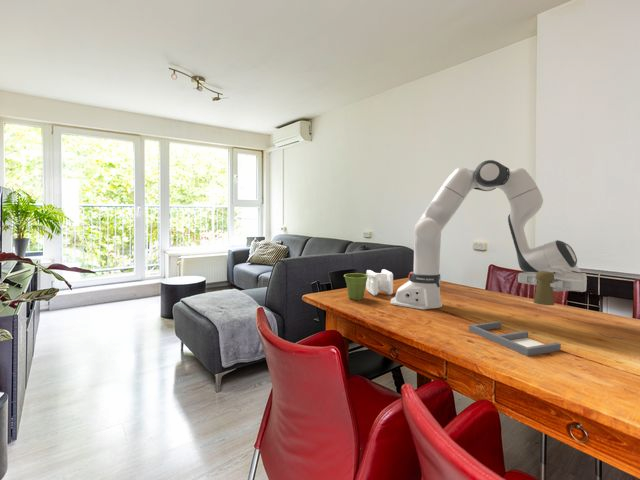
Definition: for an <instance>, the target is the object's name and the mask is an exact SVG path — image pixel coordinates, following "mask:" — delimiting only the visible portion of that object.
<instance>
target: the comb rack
mask: <svg viewBox="0 0 640 480" xmlns="http://www.w3.org/2000/svg"><path fill="white" fill-rule="evenodd" d="M501 328H502V322H501V321H497V320H496V321H491V322H483V323H477V324H469V325H468V332H471V333H473V334H476V335H478V336H479V337H480V336H481V337H482V338H485V339H487V340H490V341H491V342H494V343H496V344H499V345H501V346H503V347H505V348H508V349H510V350H512V351H515V352H517V353H520V354H521V355H524V356H526V357H531V356H535V355H536V356H537V355H541V354H542V355H543V354H548V353H552V352H553V353H555V352H559V351H561V350H562V349H561V347H562V344H561V342H557V341H556V342H551V343H550V342H549V343H542V342H540V341H537V340H534V339H531V338H529V332H528V331H527V330H522V331H521V330H520V331H515V332H508V333H502V334H496V333H493V332H491V331H488V330H494V329H495V330H497V329H501Z"/></svg>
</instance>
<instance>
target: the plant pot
mask: <svg viewBox="0 0 640 480" xmlns="http://www.w3.org/2000/svg"><path fill="white" fill-rule="evenodd" d="M343 277H344V280H345V283H346V289H347V296H348V299H349V300H354V301H361V300H363V299H364V298H365V292H366V282H367V277H368V275H366V273H359V272H358V273H356V272H355V273H346V274H344V275H343Z"/></svg>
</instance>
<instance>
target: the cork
mask: <svg viewBox="0 0 640 480" xmlns="http://www.w3.org/2000/svg"><path fill="white" fill-rule="evenodd" d="M536 279H537V280H538V282H537V285H536V288H535V292H534V298H533V303H534V304H537V305H542V306H554V305H555V298H554V291H553V288H552V287H550V282H552V281H553V280H554V274H553V273H552V272H548V271H546V270H545V271H539V272H537V274H536Z"/></svg>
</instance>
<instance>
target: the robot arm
mask: <svg viewBox="0 0 640 480" xmlns="http://www.w3.org/2000/svg"><path fill="white" fill-rule="evenodd" d="M496 188H498V189H500V190H501V191H503V193H504V194H505V196H506V198H507V200H508V202H509V204H510V213H509V214H508V216H507V223H508V227H509V230H510V235H511V238H512V240H513V244H514V248H515V251H516V257H517V258H516V259H517V262H518V266H519V268H520V269H521V271H522V272H519V273H518V274H517V275H518V276H517V282H518V283H519V284H520V283H521V284H525V285H532V286H537V282H538V280H537V279H536V274H537V272H539V271H548V272H552V273H553V274H554V280H553V281H552V282H550V287H552V288H553V292H579V293H580V292H581V293H583V292H586V291H587V283H588V282H587V280H588V278H587V273H585V272H582V271H581V269H580V268H579V266H578V265H577V264H578V263H577V262H578V259H577V255H576V252H575V251H574V249H573V247H571V246H570V244H568V243H566V242H564V241H562V240H558V239H556V240H555V241H550V242H548V243H545V244H543V245H539V246H536V247H533V248H530V246H529V244H528V240H527V237H526V233H525V226H526V224H527V223H528V221H530V219H532V218H533V217H534V216H535V215H536V214H537V213H538V212H539V211H540V210H541V209H542V206H543V204H544V199H543V194H542V192H541V190H540V189H539V188H538V185H537V184H536V182H535V180H534V179H533V177H532V176H531V174H530V173H529V172H528V171H527V170H526V169H525V168H522V167H514V168H511V169H510V168H509V167H507V166H505V165H504V164H501V163H500V162H499V161H496V160H494V159H489V160H484V161H482V162H481V163H479V164H478V165H477V167H475V169H469V168H467V167H457V168H455V169H454V170H453V171H452V172H451V173H450V174H449V175H448V177H446V179H445V181H444V182H443V183H442V184H441V186H440V188H439V189H438V190H437V192H436V193H435V195H434V196H433V198H432V200H431V201H430V203H429V204H428V205H427V207H426V209H425V210H424V212H423V213H422V215H421V216H420V218H419V219H418V221H417V223H415V225H414V228H413V271H411V272H409V273H408V281H406V282H404V283H403V284H402V285H400V286H399V287H398V288H397V290H396V292H395V296H394V297H391V299H390V304H391V305H395V306H400V307H406V308H410V309H411V308H412V309H417V310H428V309H439V308H441V307H443V303H442V298H441V291H440V290H441V289H440V287H441V273H440V265H441V263H440V262H441V261H440V260H441V257H440V256H441V243H442V242H441V241H442V239H441V238H442V231H443V230H444V228H445V227H446V226H447V225H448V222H449V221H450V220H451V219H452V218H453V216H454V215H455V213H456V212H457V211H458V209H459V208H460V206H461V205H462V203H463V202H464V201H465V199H466V197H467V195H468V194H469V193H470V192H471V191H472V190H473V189H474V190H477V191H483V192H492V191H494V190H495V189H496Z"/></svg>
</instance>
